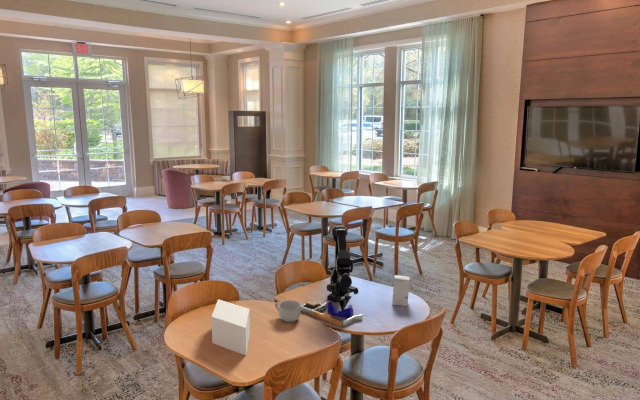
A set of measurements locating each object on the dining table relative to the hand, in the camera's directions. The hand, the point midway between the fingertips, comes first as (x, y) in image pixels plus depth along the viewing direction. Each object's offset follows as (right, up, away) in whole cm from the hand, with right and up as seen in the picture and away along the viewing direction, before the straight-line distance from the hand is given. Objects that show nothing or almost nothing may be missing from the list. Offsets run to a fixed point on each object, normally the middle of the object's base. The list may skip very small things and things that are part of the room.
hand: (342, 310), depth 242 cm
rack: (-6, -2, -3) cm, 7 cm away
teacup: (-27, -3, -8) cm, 29 cm away
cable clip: (-1, -2, -2) cm, 3 cm away
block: (-51, -6, -29) cm, 59 cm away
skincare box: (+31, 0, +13) cm, 34 cm away
